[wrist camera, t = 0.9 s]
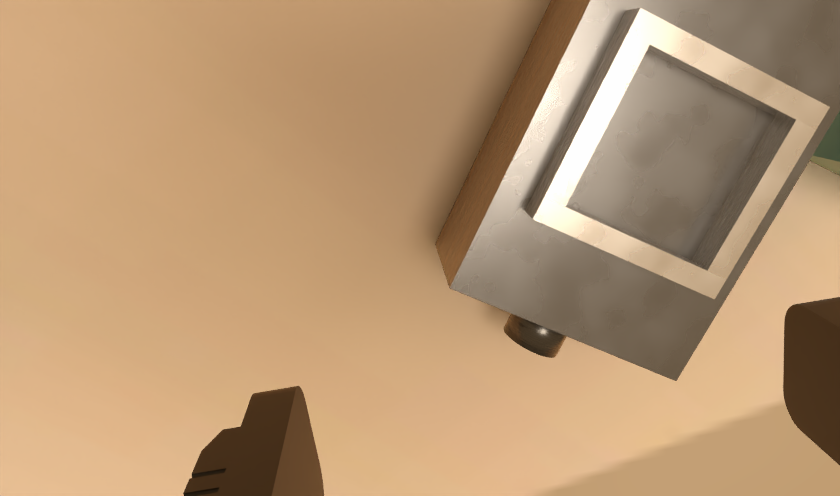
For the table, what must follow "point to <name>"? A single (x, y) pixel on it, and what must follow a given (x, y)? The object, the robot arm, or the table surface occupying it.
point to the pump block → (829, 148)
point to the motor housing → (641, 168)
